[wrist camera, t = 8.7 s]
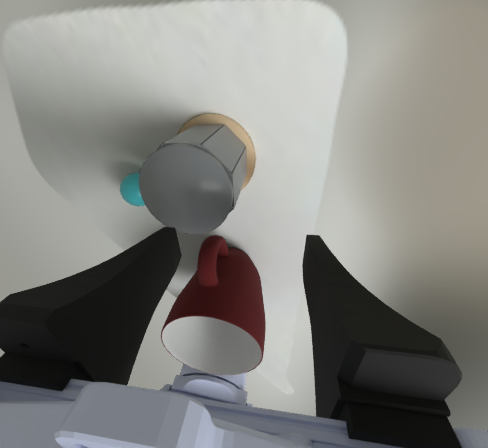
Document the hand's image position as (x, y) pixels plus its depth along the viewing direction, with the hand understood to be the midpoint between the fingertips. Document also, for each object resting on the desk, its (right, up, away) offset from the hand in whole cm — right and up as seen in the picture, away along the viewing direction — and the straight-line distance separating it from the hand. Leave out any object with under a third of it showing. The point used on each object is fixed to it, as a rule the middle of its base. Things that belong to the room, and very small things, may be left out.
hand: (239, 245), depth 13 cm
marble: (-9, +5, +9) cm, 14 cm away
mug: (-1, -2, +13) cm, 13 cm away
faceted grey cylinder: (-2, +7, +7) cm, 10 cm away
